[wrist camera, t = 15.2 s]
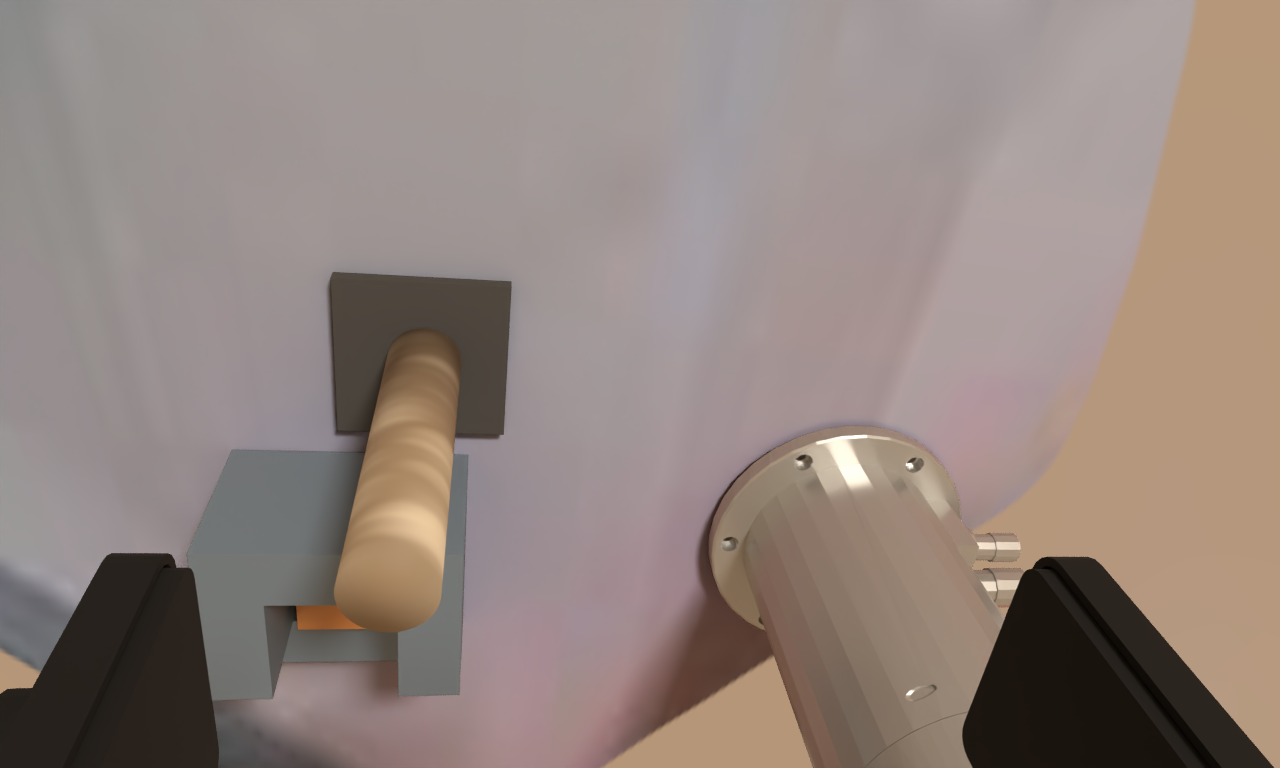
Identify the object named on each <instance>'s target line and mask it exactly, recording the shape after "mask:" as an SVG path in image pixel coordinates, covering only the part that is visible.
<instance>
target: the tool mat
mask: <svg viewBox="0 0 1280 768" xmlns="http://www.w3.org/2000/svg"><path fill="white" fill-rule="evenodd" d="M331 296H332V318H333V340H334V363H335V385H336V407H337V429H338V430H343V431H370V429H371V425H372V421H373V416H374V412H375V408H376V403H377V399H378V394H379V390H380V386H381V381H382V377H383V373H384V368H385V364H386V360H387V355H388V351H389V348H390V346H391V344H392V343H393V341H394V340H395V339H396V338H397V337H398V336H400V335H401V334H403V333H405V332H407V331H409V330H413V329H418V328H427V329H433V330H436V331H439V332H441V333H443V334H445V335H446V336H448V337H449V338H450V339H452V341H453V342H454V343H455V344H456V346H457V347H458V349H459V352H460V355H461V373H460V385H459V396H458V408H457V419H456V431H455V433H461V434H500V435H504V416H505V397H506V378H507V359H508V340H509V322H510V303H511V282H509V281H490V280H471V279H452V278H433V277H415V276H396V275H377V274H358V273H339V272H333V273H332V276H331Z"/></svg>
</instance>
